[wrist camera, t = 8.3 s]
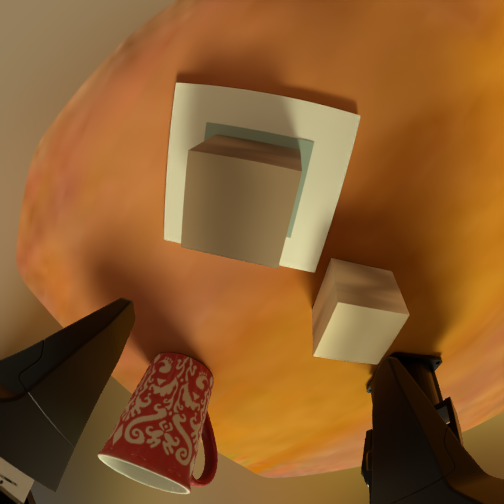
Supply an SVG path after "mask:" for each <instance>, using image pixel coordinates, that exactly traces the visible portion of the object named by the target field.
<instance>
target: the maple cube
mask: <svg viewBox="0 0 504 504" xmlns="http://www.w3.org/2000/svg"><path fill="white" fill-rule="evenodd" d="M409 315H410V314H409V312H408V309H407V307H406V304H405V301H404V299H403V296H402V294H401V291H400V289H399V287H398V284H397V282H396V279H395V277H394V275H393V272H392V271H388V270H384V269H379V268H375V267H370V266H366V265H361V264H357V263H352V262H348V261H343V260H339V259H334V258H331V259H330V262H329V265H328V268H327V271H326V274H325V276H324V279H323V282H322V285H321V287H320V290H319V293H318V295H317V298H316V301H315V303H314V306H313V309H312V323H313V356H315V357H322V358H329V359H336V360H343V361H350V362H359V363H367V364H376V365H377V364H378V363H379V362H380V360H381V359H382V357H383V356H384V354H385V353H386V351H387V350H388V348H389V347H390V345H391V344H392V342H393V341H394V339H395V338H396V336H397V335H398V333H399V332H400V330H401V328H402V327H403V325H404V323H405V322H406V320H407V319H408V317H409Z"/></svg>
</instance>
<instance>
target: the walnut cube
mask: <svg viewBox="0 0 504 504" xmlns="http://www.w3.org/2000/svg"><path fill="white" fill-rule="evenodd" d="M301 174H302V164H301V151H300V150H297V149H293V148H288V147H284V146H279V145H274V144H269V143H264V142H259V141H253V140H248V139H242V138H236V137H230V136H224V135H218V134H216V135H215V136H213V137H211V138H209V139H207V140H205V141H204V142H202V143H200V144H198V145H196V146H195V147H193V148H191V149H189V150H188V157H187V167H186V178H185V190H184V203H183V218H182V235H181V247H182V248H187V249H191V250H196V251H200V252H205V253H209V254H214V255H218V256H222V257H227V258H231V259H236V260H241V261H245V262H250V263H254V264H259V265H263V266H268V267H272V268H277V269H278V266H279V262H280V259H281V255H282V251H283V247H284V243H285V239H286V235H287V231H288V227H289V223H290V219H291V215H292V211H293V207H294V203H295V199H296V195H297V191H298V187H299V182H300V178H301Z"/></svg>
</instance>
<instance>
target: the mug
mask: <svg viewBox="0 0 504 504" xmlns="http://www.w3.org/2000/svg"><path fill="white" fill-rule="evenodd" d="M212 387H213V377H212V375H211V373H210V371H209V370H208V369H207V368H206V367H205V366H204V365H202V364H201V363H200V362H198V361H197V360H195V359H193V358H191V357H188V356H185V355H182V354H178V353H171V352H166V353H160V354H158V355H156V356H155V357H154V358H153V360H152V362H151V363H150V365H149V367H148V369H147V370H146V372H145V374H144V376H143V378H142V379H141V381H140V383H139V384H138V386H137V388H136V390H135V391H134V393H133V395H132V397H131V398H130V400H129V402H128V404H127V406H126V408H125V409H124V411H123V413H122V415H121V417H120V419H119V420H118V422H117V424H116V426H115V428H114V430H113V432H112V433H111V435H110V437H109V439H108V441H107V443H106V445H105V446H104V448H103V449H102V451H100V452H99V453H98V458H99V459H100V460H101V461H102V462H104V463H105V464H106V465H108V466H109V467H111V468H112V469H114V470H115V471H117V472H119V473H121V474H123V475H125V476H127V477H129V478H131V479H134V480H135V481H138V482H140V483H143V484H145V485H148V486H150V487H153V488H156V489H160V490H164V491H168V492H172V493H178V494H189V493H190V492H191V488H190V485H191V486H197V487H201V486H206V485H208V484H209V483H210V482H211V481H212V479H213V478H214V476H215V473H216V469H217V461H218V459H217V447H216V442H215V437H214V432H213V428H212V425H211V421H210V418H209V415H208V411H207V408H208V403H209V399H210V395H211V391H212ZM201 436H202V441H203V446H204V452H205V466H204V471H203V473H202V475H201V477H200V478H199V479H197V480H196V479H195V478H194V477H193V475H192V473H193V469H194V465H195V461H196V456H197V451H198V447H199V443H200V438H201Z"/></svg>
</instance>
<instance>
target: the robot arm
mask: <svg viewBox="0 0 504 504" xmlns="http://www.w3.org/2000/svg"><path fill="white" fill-rule="evenodd" d="M134 322H135V313H134V305H133V302H132V301H131V300H129V299H126V298H120V299H118V300H116V301H114V302H112V303H110V304H108V305H107V306H105V307H103V308H101V309H99V310H97V311H95V312H93V313H92V314H90V315H88V316H86V317H84V318H82V319H80V320H78V321H77V322H75V323H73V324H71V325H69V326H67V327H65V328H64V329H62V330H60V331H58V332H56V333H54V334H53V335H51V336H49V337H47V338H46V339H45V340H41V341H40V342H38V343H36V344H34V345H32V346H30V347H28V348H26V349H24V350H22V351H20V352H18V353H16V354H14V355H11V356H9V357H6V358H4V359H2V360H0V504H36V503H35V501H34V498H33V495H32V492H31V490H30V488H31V486H32V484H33V482H34V480H35V481H37V482H38V483H40V484H42V485H43V486H45V487H47V488H49V489H50V490H52V491H54V492H56V490H57V488H58V486H59V483H60V481H61V478H62V476H63V474H64V471H65V469H66V467H67V465H68V462H69V460H70V458H71V456H72V453H73V451H74V448H75V447H76V444H77V442H78V440H79V438H80V436H81V434H82V432H83V429H84V427H85V425H86V423H87V421H88V419H89V417H90V415H91V413H92V411H93V409H94V407H95V405H96V403H97V401H98V399H99V397H100V394H101V393H102V391H103V389H104V387H105V385H106V383H107V381H108V379H109V377H110V376H111V374H112V372H113V370H114V368H115V366H116V364H117V362H118V361H119V359H120V356H121V354H122V352H123V349H124V347H125V344H126V342H127V339H128V337H129V334H130V332H131V329H132V327H133V325H134ZM441 363H442V359H441V357H434V356H424V355H414V354H404V353H393V354H392V355H391V356H390V357H386V358H385V359H384V360H383V362H382V363H381V364H380V366H379V367H378V369H377V370H376V372H375V376H374V379H373V380H372V381H371V383H370V384H369V385H368V386H367V388H366V389H367V392H368V393H371V395H372V403H373V409H372V423H373V430H372V429H371V430H368V431H366V438H365V444H364V452H363V460H362V468H361V469H362V471H361V474H362V476H363V477H364V479H365V482H366V484H367V486H368V487H369V493H370V504H504V479H500V478H496V477H493V476H490V475H488V474H487V473H485V472H484V471H483V470H482V469H481V468H480V466H479V465H478V464H477V463H476V462H475V460H474V459H473V458H472V457H471V456H470V455H469V453H468V452H467V451H466V450H465V448H464V445H463V438H462V432H461V428H460V424H459V420H458V416H457V413H456V410H455V408H454V405H453V403H452V400H451V398H450V397H448V398H446V399H445V400H444V401H443V399H442V395H441V391H440V388H439V384H438V381H437V378H436V375H435V370H436V369H437V368H438V366H439V365H440V364H441ZM449 421H450V423H449V424H446V423H447V422H449Z"/></svg>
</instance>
